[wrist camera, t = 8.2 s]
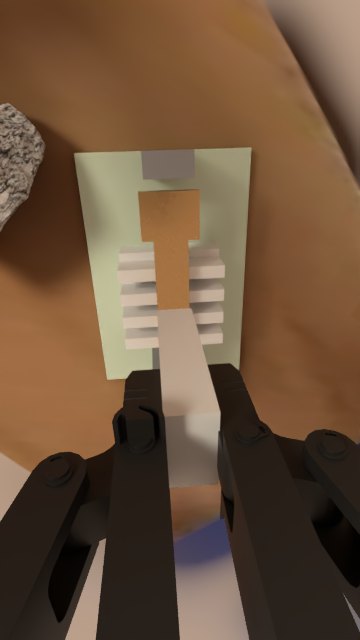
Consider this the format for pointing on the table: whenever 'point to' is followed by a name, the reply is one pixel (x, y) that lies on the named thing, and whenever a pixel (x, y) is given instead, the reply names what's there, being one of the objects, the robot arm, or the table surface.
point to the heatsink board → (125, 228)
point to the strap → (170, 240)
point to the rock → (17, 159)
